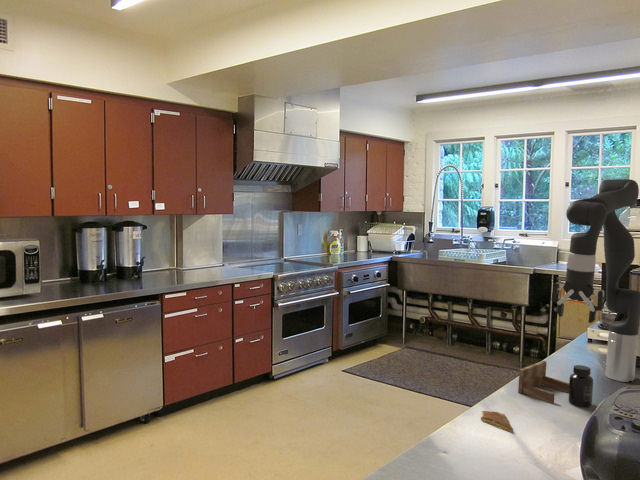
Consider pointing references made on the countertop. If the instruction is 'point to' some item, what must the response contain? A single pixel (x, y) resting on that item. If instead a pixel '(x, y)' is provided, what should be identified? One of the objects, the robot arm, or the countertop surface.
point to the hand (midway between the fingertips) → (575, 319)
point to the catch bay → (539, 382)
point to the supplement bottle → (581, 387)
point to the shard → (497, 420)
